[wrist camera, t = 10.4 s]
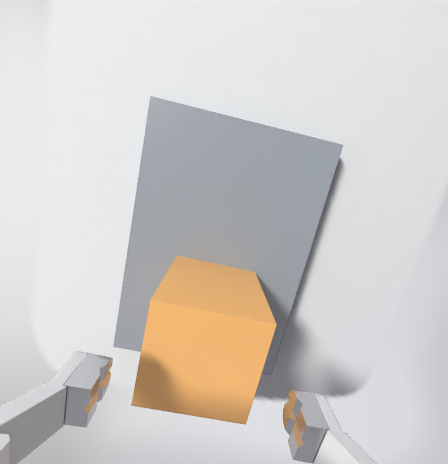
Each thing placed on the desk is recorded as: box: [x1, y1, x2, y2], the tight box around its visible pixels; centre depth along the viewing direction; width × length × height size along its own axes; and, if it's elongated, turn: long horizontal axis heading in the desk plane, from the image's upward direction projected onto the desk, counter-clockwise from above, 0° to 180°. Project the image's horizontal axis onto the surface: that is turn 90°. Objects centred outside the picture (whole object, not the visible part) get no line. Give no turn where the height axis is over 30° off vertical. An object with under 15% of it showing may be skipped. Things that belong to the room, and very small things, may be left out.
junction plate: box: [114, 96, 343, 375], centre depth 16 cm, size 20×14×6 cm
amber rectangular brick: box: [132, 256, 277, 424], centre depth 15 cm, size 6×6×7 cm
